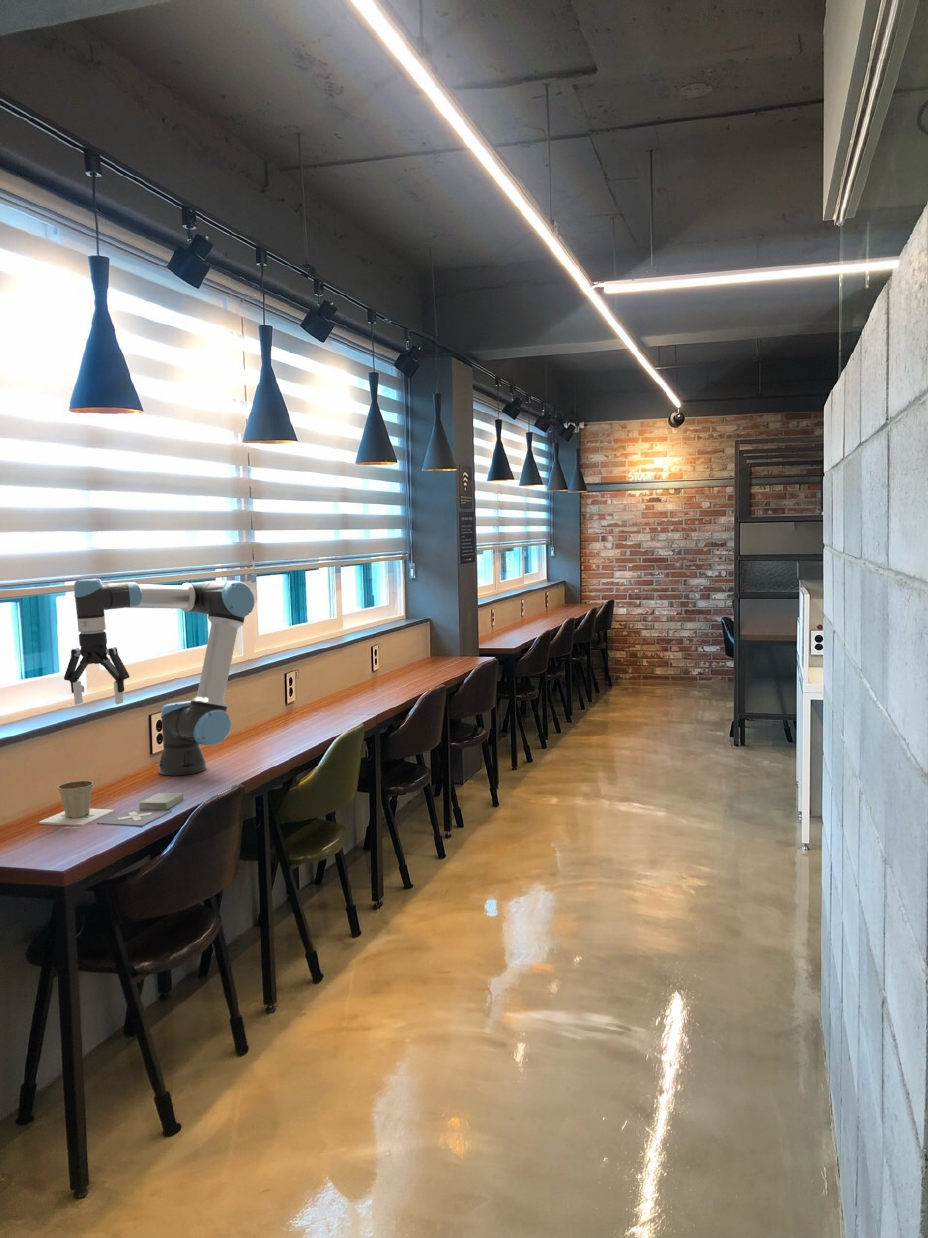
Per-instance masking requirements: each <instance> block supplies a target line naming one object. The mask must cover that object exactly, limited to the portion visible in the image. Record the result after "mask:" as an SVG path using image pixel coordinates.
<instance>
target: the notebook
mask: <svg viewBox="0 0 928 1238" xmlns="http://www.w3.org/2000/svg"><path fill="white" fill-rule="evenodd" d="M183 800H184V793H178V792H175V793H173V792H172V793H171V792H170V793H169V792H168V793H167V792H166V793H165V792H164V793H162V792H161V793H159V792H158V793H155V794H153V795H151V796H150V797H147V798H146V799H144V800H142V801H140V802H139V803H138V804H139V805H138V806H139V807H138V809H140V810H169V809H170V808H173V807H174V806H176V805H178V804H179V803H180V802H181V801H183Z"/></svg>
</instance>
